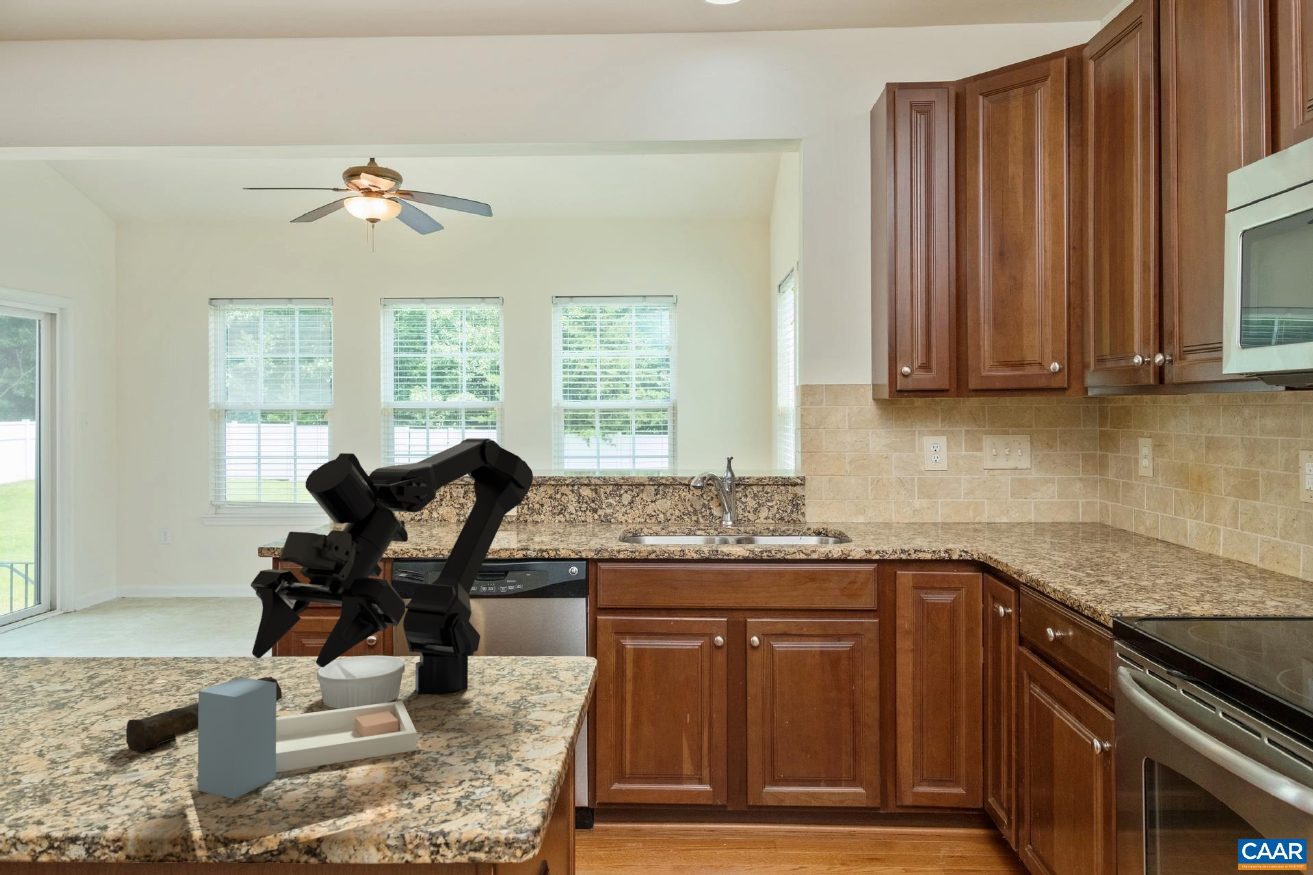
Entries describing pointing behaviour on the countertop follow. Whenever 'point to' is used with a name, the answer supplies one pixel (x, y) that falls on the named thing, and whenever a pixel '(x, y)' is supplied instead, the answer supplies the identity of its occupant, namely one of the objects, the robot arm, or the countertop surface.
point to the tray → (338, 737)
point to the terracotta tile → (376, 724)
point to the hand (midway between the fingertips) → (286, 660)
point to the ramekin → (360, 681)
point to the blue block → (236, 737)
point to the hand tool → (168, 724)
